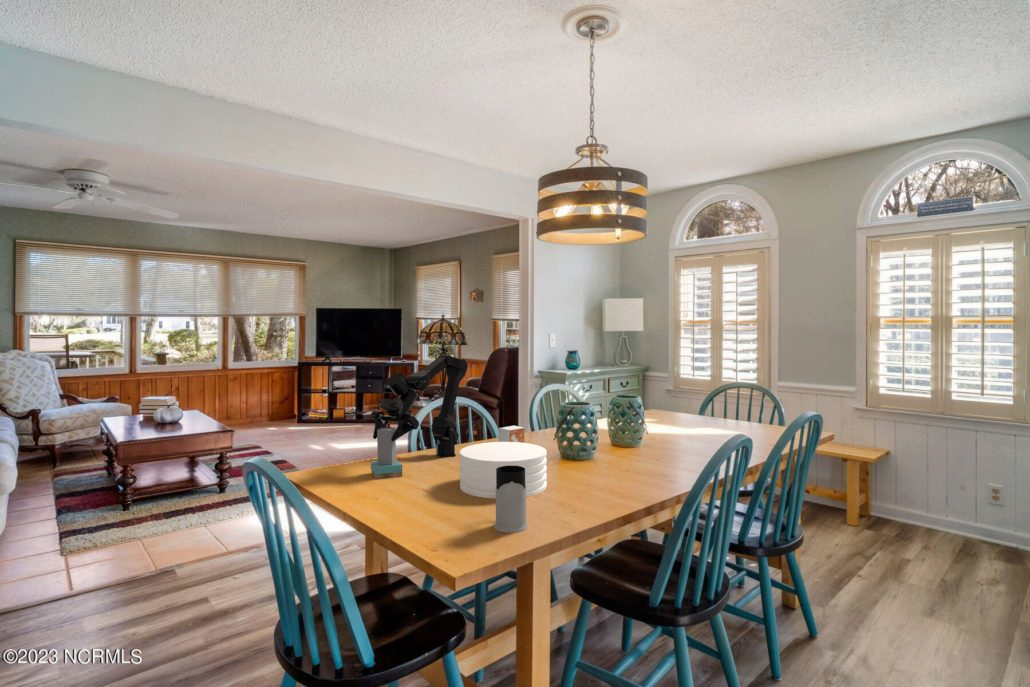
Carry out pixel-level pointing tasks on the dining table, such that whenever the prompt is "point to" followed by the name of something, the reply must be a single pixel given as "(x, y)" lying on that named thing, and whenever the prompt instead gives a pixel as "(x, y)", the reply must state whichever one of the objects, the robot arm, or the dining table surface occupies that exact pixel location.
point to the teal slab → (386, 468)
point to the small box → (511, 434)
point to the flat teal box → (386, 475)
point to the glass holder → (510, 499)
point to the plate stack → (489, 456)
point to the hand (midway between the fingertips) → (382, 439)
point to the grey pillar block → (386, 446)
